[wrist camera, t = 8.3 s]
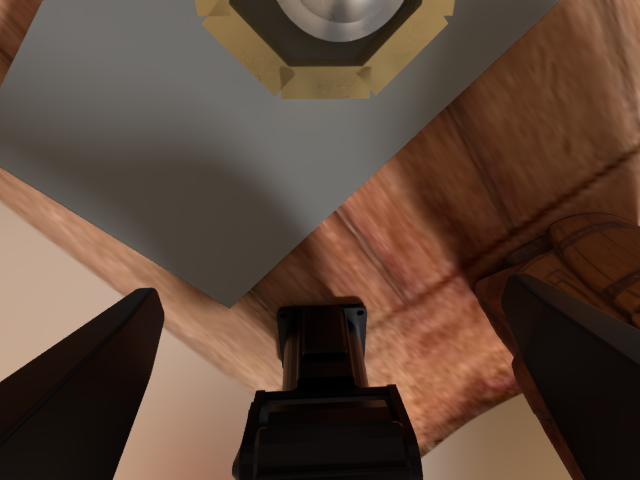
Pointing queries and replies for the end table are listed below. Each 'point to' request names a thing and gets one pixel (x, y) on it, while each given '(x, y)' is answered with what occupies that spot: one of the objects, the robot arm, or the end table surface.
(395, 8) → the silver calibration weight
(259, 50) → the brass ring
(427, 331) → the end table surface
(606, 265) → the wooden figurine
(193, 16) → the mat
